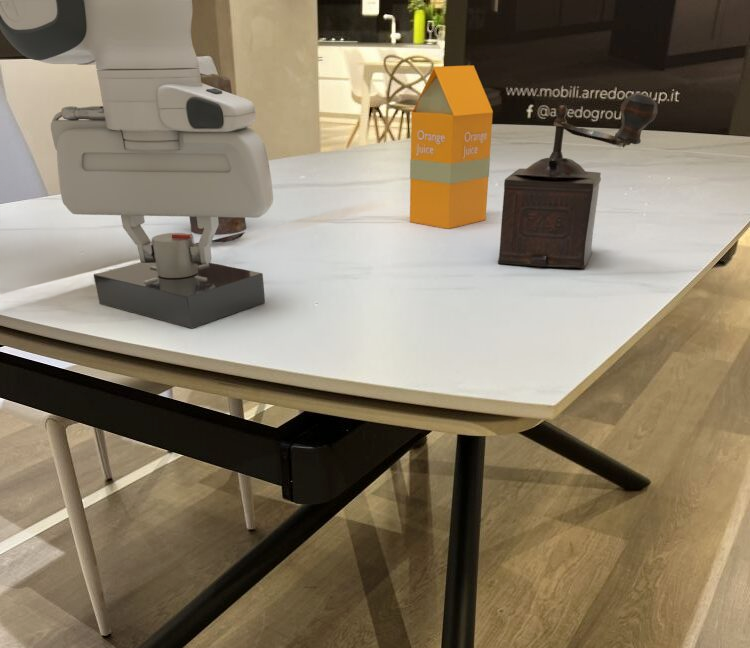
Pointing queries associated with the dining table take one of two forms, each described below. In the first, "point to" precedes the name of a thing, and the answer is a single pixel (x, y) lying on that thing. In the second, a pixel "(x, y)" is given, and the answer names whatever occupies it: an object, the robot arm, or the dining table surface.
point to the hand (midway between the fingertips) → (176, 262)
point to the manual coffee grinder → (561, 196)
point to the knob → (174, 255)
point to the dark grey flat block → (181, 292)
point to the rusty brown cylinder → (225, 223)
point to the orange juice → (450, 149)
